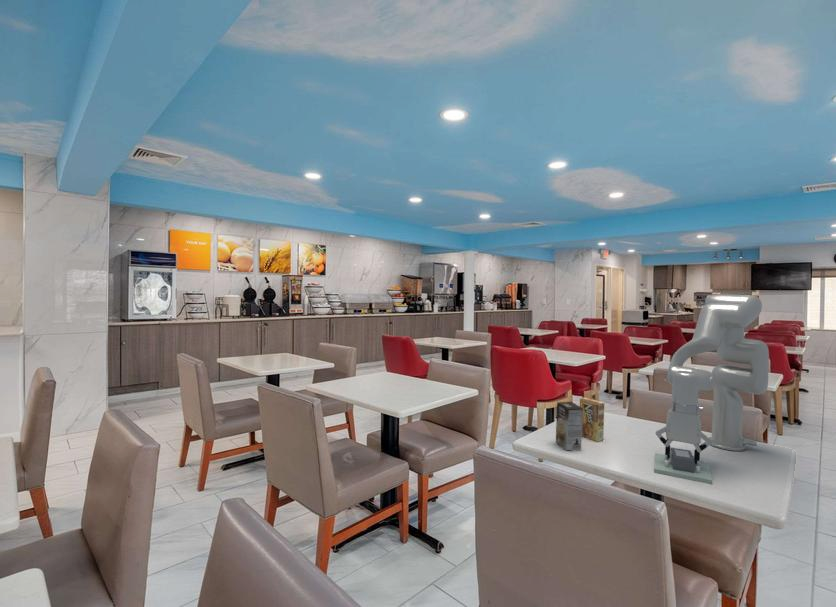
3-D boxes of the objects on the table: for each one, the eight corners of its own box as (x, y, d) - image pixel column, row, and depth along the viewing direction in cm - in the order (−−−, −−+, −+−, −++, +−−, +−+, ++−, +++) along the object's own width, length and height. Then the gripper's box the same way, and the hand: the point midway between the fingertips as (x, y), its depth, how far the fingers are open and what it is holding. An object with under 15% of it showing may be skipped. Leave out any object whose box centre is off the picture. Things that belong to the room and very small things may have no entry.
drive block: (689, 461, 151) (690, 450, 151) (694, 473, 142) (694, 460, 142) (670, 458, 153) (670, 447, 153) (672, 469, 144) (673, 456, 144)
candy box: (603, 440, 174) (605, 402, 173) (597, 442, 172) (598, 403, 171) (584, 433, 182) (585, 397, 181) (578, 435, 179) (579, 398, 179)
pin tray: (707, 466, 151) (708, 456, 150) (712, 484, 137) (712, 474, 137) (654, 456, 158) (655, 447, 158) (654, 472, 145) (654, 462, 144)
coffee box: (554, 442, 171) (556, 401, 170) (570, 441, 172) (571, 401, 171) (566, 451, 162) (567, 408, 161) (582, 450, 163) (583, 408, 162)
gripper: (714, 409, 146) (711, 461, 146) (655, 401, 154) (652, 451, 155) (716, 415, 139) (713, 469, 140) (654, 406, 148) (652, 458, 148)
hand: (681, 459), depth 147 cm, fingers open, 7 cm apart
